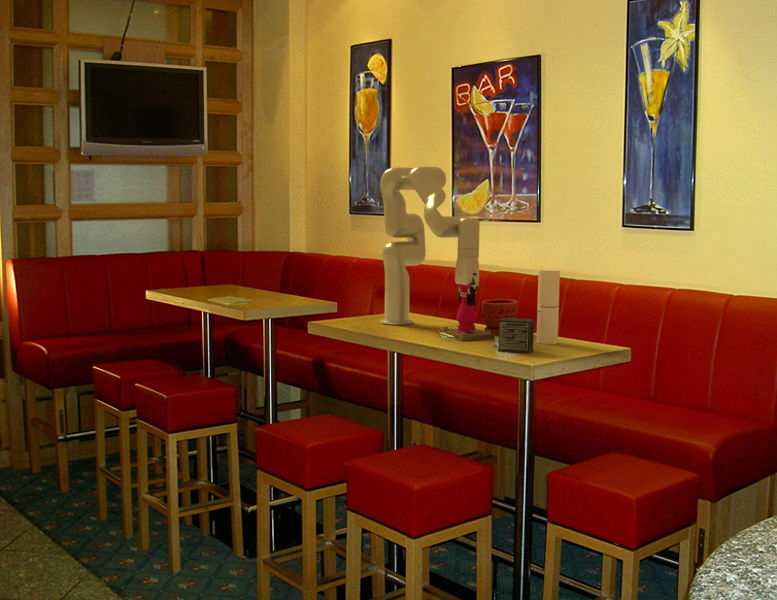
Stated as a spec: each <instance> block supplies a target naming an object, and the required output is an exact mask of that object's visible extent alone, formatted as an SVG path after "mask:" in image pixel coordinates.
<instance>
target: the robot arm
mask: <svg viewBox="0 0 777 600" xmlns="http://www.w3.org/2000/svg"><path fill="white" fill-rule="evenodd" d="M382 173H383V174H382V175H381V178H380V183H379V188H380V192H381V197H382V202H383V215H384V217H383V218H384V228H385V229H384V230H385V233H386V236H388V237H389V238H392V239H406V241H404V240H403V241H391V242H389V243H387V244H386V245H385V246H384V248H382V249H383V250H382V260H383V261H382V262H383V265H384V266H383V267H384V318H382V319H380V324H383V325H391V326H403V325H404V326H405V325H406V326H407V325H412V324H413V323H414V320H413V319H412V318H410V287H411V285H410V284H411V283H410V281H411V280H410V276H409V272H408V270H407V268H406V267H411V266H419V265H421V264H422V263H423V262H424V261H425V258H426V251H427V250H426V235H425V234H426V233H425V224H426V225H427V227H428V228H429V229H430V230H431V232H432V234H433V235H435V237H437V238H441V239H443V238H445V239H447V238H456V239H457V256H456V257H457V258H456V263H455V270H454V273H455V274H454V282H455V283H456V284H457V287H458V303H459V304H461V301H462V299H461V296H460V295H461V293H460V292H461V290H460V288H459V284H460V283H461V284H462V285H464V286H468V294H467V305H473V306H475V305H476V294H477V290H478V288H479V286H480V284H479V282H480V262H479V257H480V230H481V229H480V226H481V225H480V224H481V222H480V219H478V217H477V218H476V217H465V216H460V215H458V216H455V215H454V216H453V215H450V216H445V215H444V216H443V215H442V214H441V212H440V211H439V210H438V208H439V207H440V206H441V205H443V203H444V202H445V200H446V197H447V195H446V191H445V190H444V189H443V188H444V187H445V186H446V183H447V177H446V176H447V175H446V173H445V171H444V170H443V169H442V168H440V167H438V166H417V167H402V166H399V167H398V166H397V167H391V168H388V169H387V170H385V171H384V172H382ZM403 190H405V191H415V192H416V194H417V195H418V197H419V198H420V200H421V202H423V204H424V209H423V216H424V221H425V224H424V221H423V219H422V217H421V216H420V215H419V214H417V213H410V212H409V213H407V205H406V204H407V203H406V200H405V198H404V196H403V194H402V192H400V191H403ZM471 283H474V285H470V284H471ZM470 287H472V288H471V290H470Z"/></svg>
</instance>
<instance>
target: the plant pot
mask: <svg viewBox="0 0 777 600" xmlns="http://www.w3.org/2000/svg"><path fill="white" fill-rule="evenodd" d="M481 312H482V313H481V314H482V318H483V322H484V324H485V327H484V332H487V331H491V334H494V335H495V336H499V319H502V318H516V319H518V315H519V302H518V300H515V299H501V298H500V299H487V300H482V302H481ZM502 313H503V314H502Z"/></svg>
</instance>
